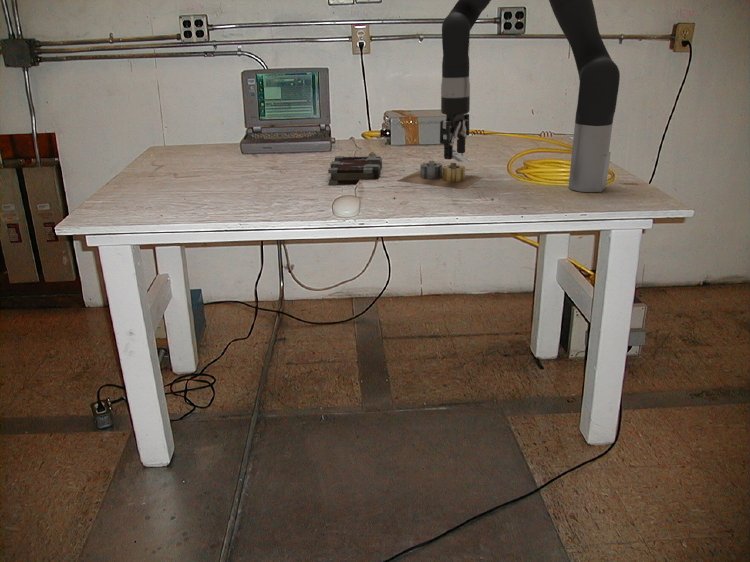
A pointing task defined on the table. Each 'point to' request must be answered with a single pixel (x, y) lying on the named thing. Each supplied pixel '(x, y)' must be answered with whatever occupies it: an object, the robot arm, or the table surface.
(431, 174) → the steel gear
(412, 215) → the table surface
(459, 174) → the brass gear
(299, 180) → the table surface
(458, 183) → the gear board
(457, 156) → the adjustable wrench
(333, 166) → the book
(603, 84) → the robot arm
